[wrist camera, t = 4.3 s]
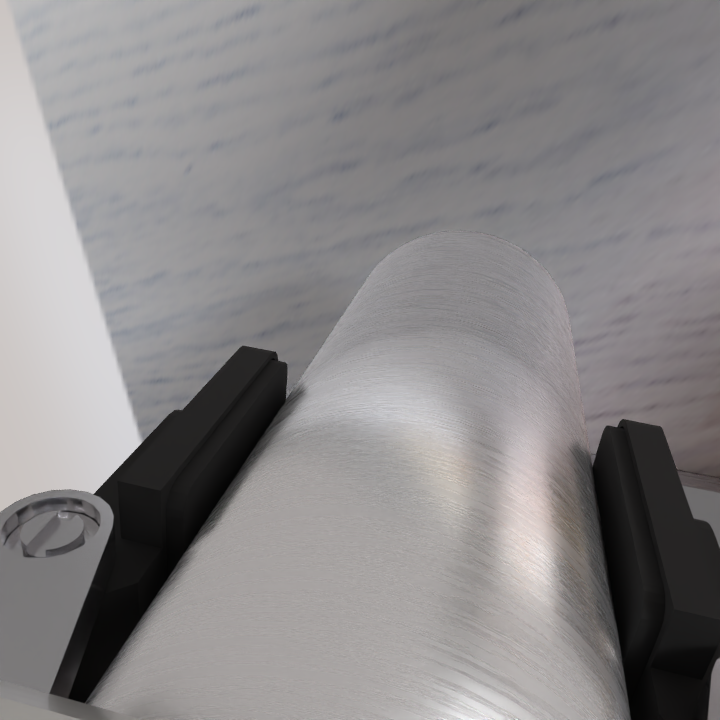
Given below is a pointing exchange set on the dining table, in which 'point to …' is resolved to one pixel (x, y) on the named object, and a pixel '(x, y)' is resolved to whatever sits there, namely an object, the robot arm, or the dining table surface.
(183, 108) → the dining table surface
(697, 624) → the robot arm
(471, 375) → the dome-topped grey cylinder
